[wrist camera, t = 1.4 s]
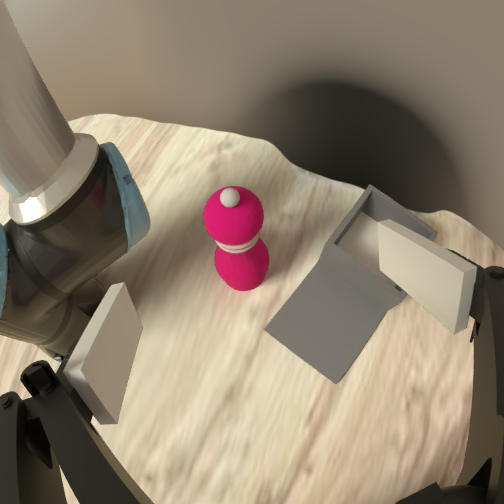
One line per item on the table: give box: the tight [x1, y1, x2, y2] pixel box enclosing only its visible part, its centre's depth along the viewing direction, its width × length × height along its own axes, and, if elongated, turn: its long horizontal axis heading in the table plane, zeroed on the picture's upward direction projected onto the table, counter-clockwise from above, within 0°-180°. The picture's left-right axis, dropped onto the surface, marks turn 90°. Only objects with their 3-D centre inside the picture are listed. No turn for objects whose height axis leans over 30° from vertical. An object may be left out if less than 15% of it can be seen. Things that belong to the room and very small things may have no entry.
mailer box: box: [264, 184, 437, 384], centre depth 40 cm, size 13×25×7 cm, turn 140°
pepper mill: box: [203, 186, 269, 291], centre depth 36 cm, size 7×7×20 cm
